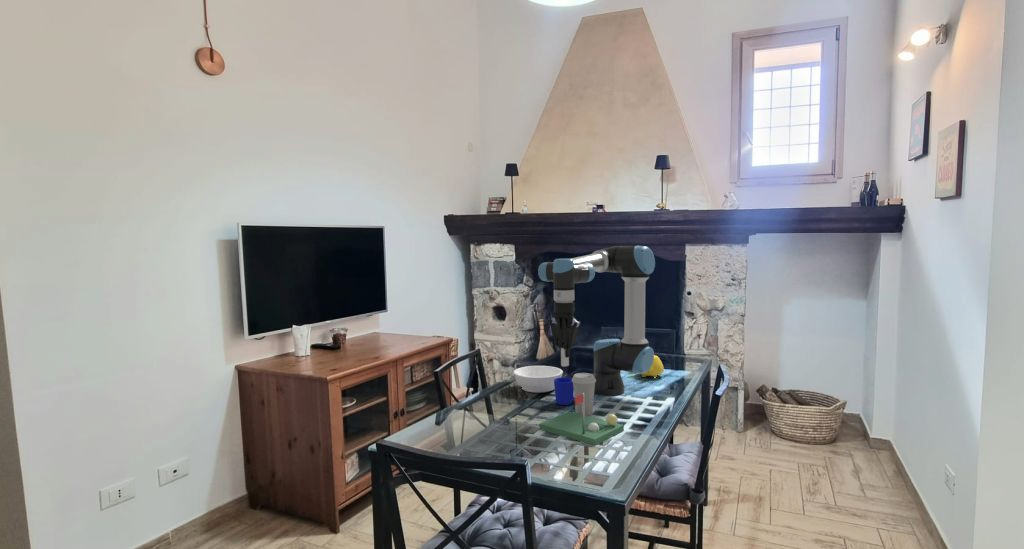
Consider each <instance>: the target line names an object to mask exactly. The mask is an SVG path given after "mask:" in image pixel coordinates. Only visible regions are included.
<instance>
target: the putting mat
mask: <svg viewBox="0 0 1024 549" xmlns="http://www.w3.org/2000/svg"><path fill="white" fill-rule="evenodd" d="M590 423H596V424H598V426H599V431H592V430H589V429H588V426H589V424H590ZM538 426H539V428H538V429H539V430H542V431H545V432H548V433H552V434H556V435H558V436H561V437H566V438H568V439H572V440H576V441H580V442H581V443H582V442H583V443H586V444H589V445H593V446H597V445H598V444H600V443H602V442H605V441H606V440H608V439H610V438H612V437H614V436H616V435H618V434H619V433H620V434H621V433H622V432H623V431H625V425H624V424H622V423H621V424H620V423H618V422H617V424H616V425H614V426H610V425H609V424H608V423H607V422H606V419H601V418H597V417H592V416H590V415H588V416H585V434H582V415H581V414H577V413H576V412H573V411H567V412H565V413H563V414H560V415H557V416H554V417H552V418H549V419H547V420H545V421H542V422H539V425H538Z"/></svg>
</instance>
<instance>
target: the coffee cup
mask: <svg viewBox="0 0 1024 549" xmlns="http://www.w3.org/2000/svg"><path fill="white" fill-rule="evenodd" d="M571 379H572V382H573V388H574V398H575V397H576V396H578V395H581V394H582V393H584V401H585V416H592V415H593V414H594V413H593V412H594V402H595V401H594V399H595V393H594V388H595V382H596V378H595V377H594V373H587V372H579V373H578V372H577V373H575V374H574V375H573V377H572V378H571ZM574 407H575V413H577V414H581V415H582V403H580V404H577V405H575V404H574Z"/></svg>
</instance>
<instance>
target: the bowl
mask: <svg viewBox="0 0 1024 549" xmlns="http://www.w3.org/2000/svg"><path fill="white" fill-rule="evenodd" d="M563 373H564V371H563V370H562V369H561V368H559V367H555V366H549V365H528V366H521V367H519V368H516V369H514V370H513V376H514V379H515V381H516V383H518V384H520V388H521V387H522V388H521V389H522V390H523V391H526V392H527V393H529V392H530V393H548V392H551V391H555V387H554V379H556V378H562V376H563Z"/></svg>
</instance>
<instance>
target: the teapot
mask: <svg viewBox="0 0 1024 549" xmlns="http://www.w3.org/2000/svg"><path fill="white" fill-rule="evenodd" d="M664 368H665V367H664V365H663V362H662V360H661V359H660V357H659V356H658V355H655V354H654V360H653V364H652V366H651V368H650V369H649V371H648V372H646V373H644V374H640V373H638V374H639V375H641V376H642V377H646V378H647V376H648V377H652V378H653V377H658V376H660V375H662V373H663V372H664V371H665V369H664ZM657 375H658V376H657ZM642 377H641V378H642Z"/></svg>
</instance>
